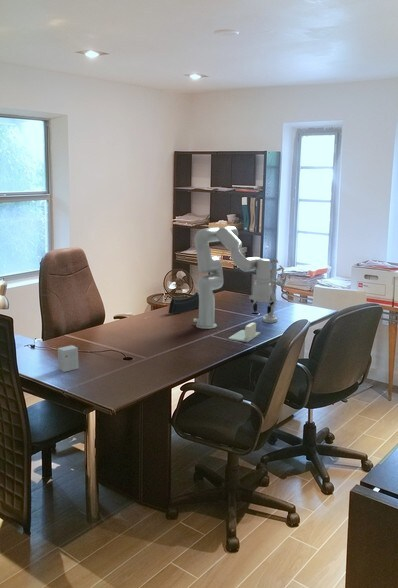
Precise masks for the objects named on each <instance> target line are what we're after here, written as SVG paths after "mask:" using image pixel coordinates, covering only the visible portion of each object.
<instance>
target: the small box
mask: <svg viewBox="0 0 398 588" xmlns="http://www.w3.org/2000/svg"><path fill="white" fill-rule="evenodd" d="M57 362H58V363H57V364H58V365H57V366H58V368H57V369H58V370H60V371H61V372H63V373H65V372H70V371H74V370H78V369H80V367H79V349H78V347H77V346H75V345H73V344H71V345H66V346H61V347H58V348H57Z"/></svg>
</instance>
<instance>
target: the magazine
mask: <svg viewBox="0 0 398 588" xmlns="http://www.w3.org/2000/svg"><path fill="white" fill-rule="evenodd" d="M168 307H169V309H168V314H172V315H173V314H182V312H183V313H186V311H187V312H190V310H191V311H193V310H195V309H199V292H195V293H194V294H192V295H189V296H186V297H183V298H179V299H175V298H171V301H170V304H169V306H168Z"/></svg>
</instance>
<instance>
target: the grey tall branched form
mask: <svg viewBox="0 0 398 588" xmlns="http://www.w3.org/2000/svg"><path fill="white" fill-rule="evenodd" d="M275 263H278V264H279V260H278V259H277V258H275V259H273V258H272V260H270V266H271V264H272V267H270V284H271V288H272V296H274V297H275V298H276V299H277V296H276V294H275V292H274V290H277V289H278V288H277V286H279V287H283V286H284V285H285V284H286V282H287V278H288V279H289V280H290V279H291V275H290V274H287V273H286V274H285V273H284V272H285V271H284V270H285V269H284V267H283V266H282V265H279V267H278V268H276V264H275ZM279 271H281V274H280V279H279V280H278V279H277V278H276V276H277V275H278V273H279ZM254 276H255V277H254V278H256V274H255V275H254ZM277 280H278V281H277ZM252 282H255V281H254V280H253V281H252ZM272 301H273V299H272V300H271V302H272ZM276 302H277V301H276ZM276 302H275V303H274V304H273V305H272V306H271V312H270V313H266V314H265V316H263V317H262V322H264V323H269V324H271V323H273V324H274V323H277V322H278V317H276V315H274V309H275V305H276ZM257 314H261V315H262V314H263V313H261V312H260V313H257Z"/></svg>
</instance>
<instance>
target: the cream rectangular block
mask: <svg viewBox="0 0 398 588" xmlns="http://www.w3.org/2000/svg"><path fill="white" fill-rule="evenodd" d="M244 330H245V338H247V339H250V338H251V337H253V336H254V335H256V332H257V322H251V323H248V324H247V325H245V327H244Z"/></svg>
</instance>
